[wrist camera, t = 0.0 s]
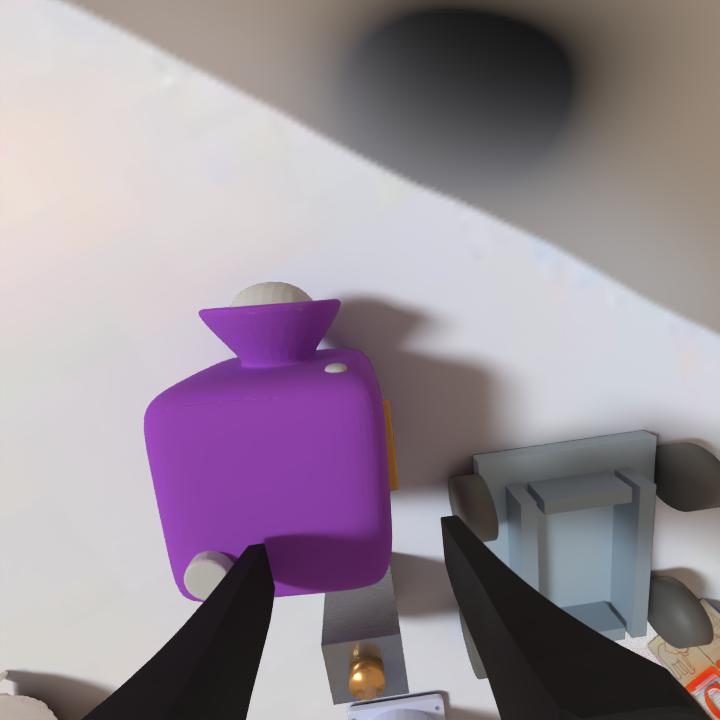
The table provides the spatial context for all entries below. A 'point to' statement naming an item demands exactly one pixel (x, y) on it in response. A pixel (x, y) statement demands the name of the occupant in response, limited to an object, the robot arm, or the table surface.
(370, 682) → the metal block with knob
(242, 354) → the toy camera
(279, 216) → the table surface
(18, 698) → the white animal figurine
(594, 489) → the chassis
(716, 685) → the stack of blocks
